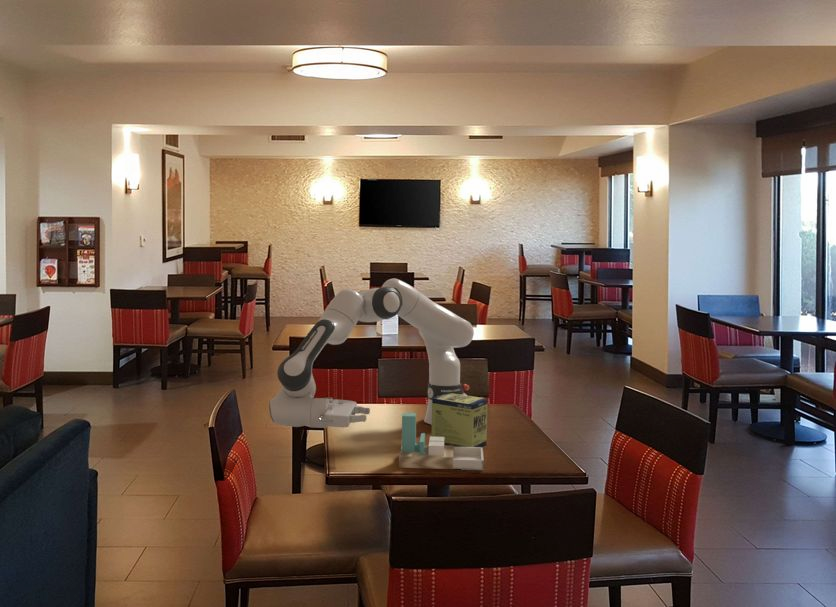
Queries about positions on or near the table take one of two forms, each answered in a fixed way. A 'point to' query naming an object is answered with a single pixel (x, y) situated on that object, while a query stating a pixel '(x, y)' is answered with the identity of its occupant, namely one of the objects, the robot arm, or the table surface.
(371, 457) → the table surface
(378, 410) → the table surface
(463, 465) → the tray
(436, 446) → the white small block
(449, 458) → the board
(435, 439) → the tile
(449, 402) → the protein box
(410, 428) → the teal uneven u-shaped block
